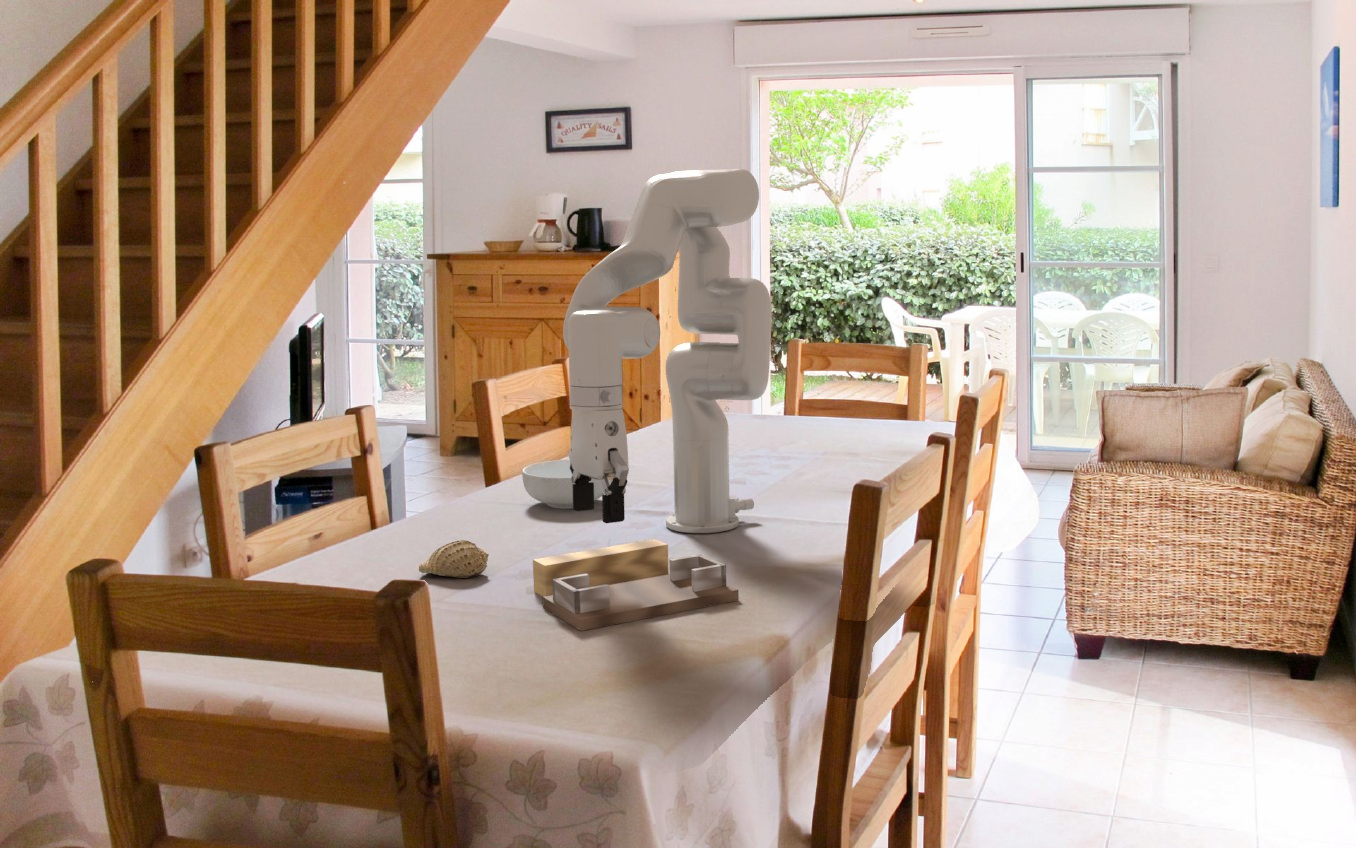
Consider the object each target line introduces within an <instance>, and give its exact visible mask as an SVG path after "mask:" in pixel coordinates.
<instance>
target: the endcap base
mask: <svg viewBox="0 0 1356 848" xmlns="http://www.w3.org/2000/svg"><path fill="white" fill-rule="evenodd" d="M668 565H669V575H663V576H657V577H652V578H646V579H640V580H635V581H629V582H623V583H618V584H612V585H607V584H605V585H599V586H594V587H589V575H588V574H580V575H575V576H569V577H563V578H557V579H552V589H553V595H550V596H544V597H543V596H542V607H543V608H544V609H545V610H547V611H548V612H550V613H551V614H553V615H555V616H556V617H558V618H559V619H561V620H563V621H564V622H566V623H567V624H569V625H571V626H572V627H574V628H576V630H578V631H580V632H582V631H587V630H593V629H599V628H602V627H603V628H604V627H608V626H614V625H618V624H619V625H620V624H623V623H628V622H629V623H630V622H634V621H639V620H643V619H649V618H654V617H659V616H665V615H670V614H675V613H681V612H685V611H691V610H695V609H699V608H700V609H701V608H706V607H711V606H715V605H716V606H717V605H721V604H726V603H731V602H732V603H733V602H736V601H737V600H738V601H739V589H738V588H735V587H733V586H731V585H729V584H727V564H724V563H722V562H720V561H717V560H715V559H713V558H710V557H708V556H705V555H704V554H702V553H697V554H693V555H688V556H681V557H675V558H670V559H669V558H668Z"/></svg>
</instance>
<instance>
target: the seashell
mask: <svg viewBox="0 0 1356 848" xmlns="http://www.w3.org/2000/svg"><path fill="white" fill-rule="evenodd" d="M489 555H490V554H489V553H487V552H486V551H484V549H482V548H479V547H478V546H477V545H476V543H473V542H472V541H469V540H456V541H452V542H448V543H446V544H445V545H442V546H440V547H439V548H438V549H436V550H435V551H434V552H432V553H431V556H430V557H429V558H428V559H427V560H426V562H424V563H420V564H419V565H418V571H419V573H422V574H433V575H437V576H442V577H443V576H444V577H453V578H456V579H457V578H458V579H470V578H474V577H477V576H479V575H481V574H483V573H484V572H485V570H486V568H487V567H488V565H487V562H488V561H489V558H488V557H489Z"/></svg>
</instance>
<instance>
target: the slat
mask: <svg viewBox="0 0 1356 848" xmlns="http://www.w3.org/2000/svg"><path fill="white" fill-rule="evenodd" d="M532 571H533V572H532V574H533V575H532V576H533V592H534V593H535V594H537V595H539V596H541V597H542V598H543V597H544V596H550V595H553V589H552V579H557V578H563V577H569V576H575V575H580V574H588V575H589V587H594V586H599V585H605V584H607V585H612V584H618V583H623V582H629V581H635V580H640V579H646V578H652V577H657V576H663V575H669V574H670V571H669V545H668V543H665V542H663V541H660V540H657V539H655V538H653V539H646V540H641V541H635V542H629V543H622V544H617V545H616V544H615V545H610V546H606V547H599V548H598V547H597V548H594V549H588V550H580V551H577V552H570V553H564V554H563V553H562V554H558V555H552V556H546V557H541V558H534V559H532Z"/></svg>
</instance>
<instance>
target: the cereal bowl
mask: <svg viewBox="0 0 1356 848" xmlns="http://www.w3.org/2000/svg"><path fill="white" fill-rule="evenodd" d="M570 465H571V464H570V460H569V458H567V459H557V460H555V459H554V460H549V461H548V460H547V461H542V462H540V461H539V462H535V463H532V464H529V465H527V466H525V467H524V468H523V469H521V470H522V471H521V477H522V484H523V487H524V489H525V491H526V493H527V494H528V495H529V496H530V497H531V498H533V499H534V500H536V501H539V502H541V503H544V504H546V505H547V506H548V507H550V508H553V509H559V510H560V509H562V510H563V509H565V510H566V509H567V510H568V509H573V483H572V481H571V477H572V472H571V470H570ZM608 481H609V484H611V482H612V480H608ZM591 482H593V483H594V501H596V500H598V499H600V498H602V495H605V492H604V489H603V486H602V483H601V481H600V480H597V479H594V478H592V479H591ZM575 484H576V483H575Z"/></svg>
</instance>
